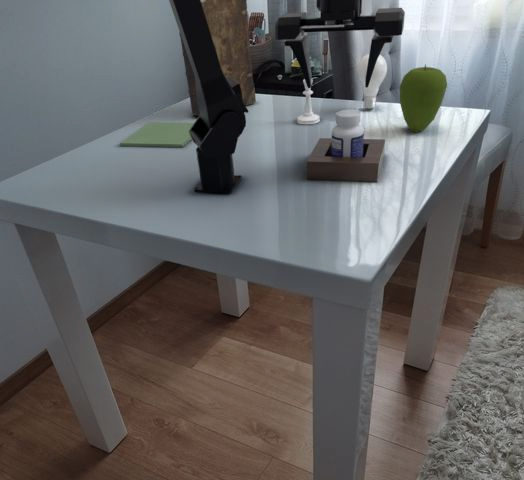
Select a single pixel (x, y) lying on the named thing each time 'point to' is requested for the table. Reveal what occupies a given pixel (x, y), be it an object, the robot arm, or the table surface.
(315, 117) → the chess piece
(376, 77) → the lightbulb
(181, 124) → the mat
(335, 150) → the pill bottle
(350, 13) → the robot arm
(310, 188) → the table surface
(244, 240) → the table surface
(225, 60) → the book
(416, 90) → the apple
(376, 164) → the holder
